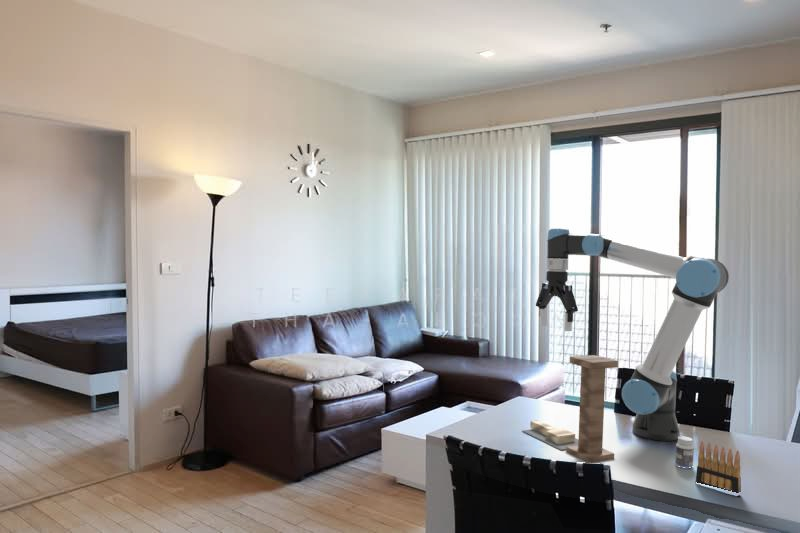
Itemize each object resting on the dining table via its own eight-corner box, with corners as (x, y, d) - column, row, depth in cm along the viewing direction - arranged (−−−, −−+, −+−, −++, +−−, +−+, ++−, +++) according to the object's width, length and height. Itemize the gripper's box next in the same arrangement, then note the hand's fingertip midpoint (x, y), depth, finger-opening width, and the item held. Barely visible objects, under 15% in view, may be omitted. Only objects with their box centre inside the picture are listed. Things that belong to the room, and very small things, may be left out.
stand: (566, 451, 179) (569, 356, 178) (590, 447, 183) (594, 354, 182) (589, 462, 170) (593, 362, 169) (614, 458, 174) (618, 360, 173)
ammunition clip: (740, 496, 149) (743, 450, 149) (738, 497, 148) (740, 452, 148) (698, 482, 157) (700, 439, 157) (695, 484, 156) (697, 440, 156)
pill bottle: (672, 462, 172) (673, 435, 172) (688, 463, 172) (689, 435, 171) (679, 468, 167) (680, 440, 167) (695, 469, 167) (697, 441, 167)
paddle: (525, 428, 200) (525, 421, 200) (541, 426, 203) (541, 419, 203) (558, 444, 185) (558, 436, 185) (574, 441, 188) (575, 434, 188)
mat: (522, 431, 198) (522, 430, 198) (549, 428, 203) (550, 426, 203) (561, 450, 180) (561, 449, 180) (590, 446, 185) (590, 445, 185)
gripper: (527, 269, 218) (525, 324, 219) (572, 272, 196) (570, 333, 196) (543, 269, 222) (541, 323, 222) (589, 272, 199) (587, 332, 199)
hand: (555, 328), depth 209 cm, fingers open, 13 cm apart
